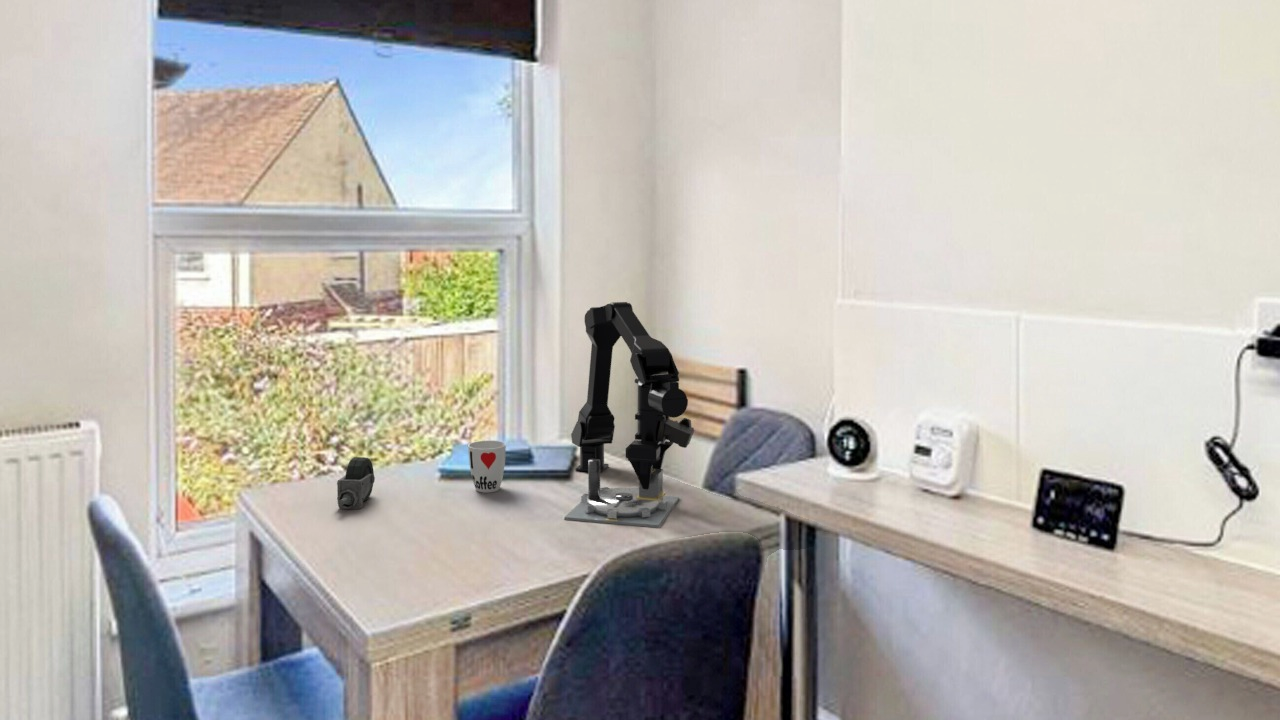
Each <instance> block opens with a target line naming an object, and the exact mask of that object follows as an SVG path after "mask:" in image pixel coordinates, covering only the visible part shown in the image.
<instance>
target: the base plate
mask: <svg viewBox="0 0 1280 720" xmlns="http://www.w3.org/2000/svg"><path fill="white" fill-rule="evenodd" d="M663 500H667V508H666V509H665V510H663V509H658V510H657V511H655V512H653V513H650V516H648V517H640V516H632V517H617V519H615V518H608V516H606V515H601V514H598V513H595V512H590V513H587V512H585V511H583V504H585V503H581V501H580V502H579V503H578V504H577V505H576V506H574V508H573V509H571V510H570V511H569V512H568V513H567V514H566V515H564V520H566V521H574V522H575V521H577V522H588V523H600V524H613V525H624V526H635V527H646V528H647V527H648V528H656V529H657V528H658V529H659V528H660V527H661V525H662V524H663V523H664V521H665V520H666V519H667V517H668V516H669V514H670V512H672V510H673V508H674V507H675V506H676V504H677V503H678V501H679V500H680V496H674V495H673V496H671V495H664V496H663Z"/></svg>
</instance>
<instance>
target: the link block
mask: <svg viewBox="0 0 1280 720" xmlns="http://www.w3.org/2000/svg"><path fill="white" fill-rule="evenodd" d="M663 475H664V470H663V468H661V469H652V473H651V479H650V485H649V489H648V490H646V489H643V488H642V486H641V483H640V481H639V480H638V487H639V497H649V498H659V497H660V495H661V494H662V493H663V492H664V491H663V490H664V489H663V483H664V482H663V481H664V479H663V478H664V476H663Z"/></svg>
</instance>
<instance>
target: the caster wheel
mask: <svg viewBox="0 0 1280 720" xmlns="http://www.w3.org/2000/svg"><path fill="white" fill-rule="evenodd" d="M374 474H375V473H374V465H373V462H372V460H371V459H370V458H369V457H360V456H359V457H357V456H356V457H352V458H351V459H350V460H349V462H348V465H347V467H346V471H345V475H344V476H342V477H340V478H339V479H338V480H336V481H337V483H336V485H337V498H336V500H337V506H338V508H339V509H342V510H360V509H362V508H363V507H364V502H365V501H367V500H368V499H369V498H370V497H371V494H372V491H373V487H374V483H375V480H376V477H375V475H374Z"/></svg>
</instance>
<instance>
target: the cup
mask: <svg viewBox="0 0 1280 720" xmlns="http://www.w3.org/2000/svg"><path fill="white" fill-rule="evenodd" d="M506 446H507V443H506V442H504V441H499V440H477V441H473V442H470V443H469V444H467V451H468V460H469V461H468V462H469V468H470V469H469V470H470V475H471V478H472V482H473V485H474V488H475V491H476V492H479V493H494V492H495V493H496V492H497V491H499V490H500V488H501V485H502V482H503V477H504V473H505V472H504V471H505V466H506V465H505V464H506V449H507V448H506Z"/></svg>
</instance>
